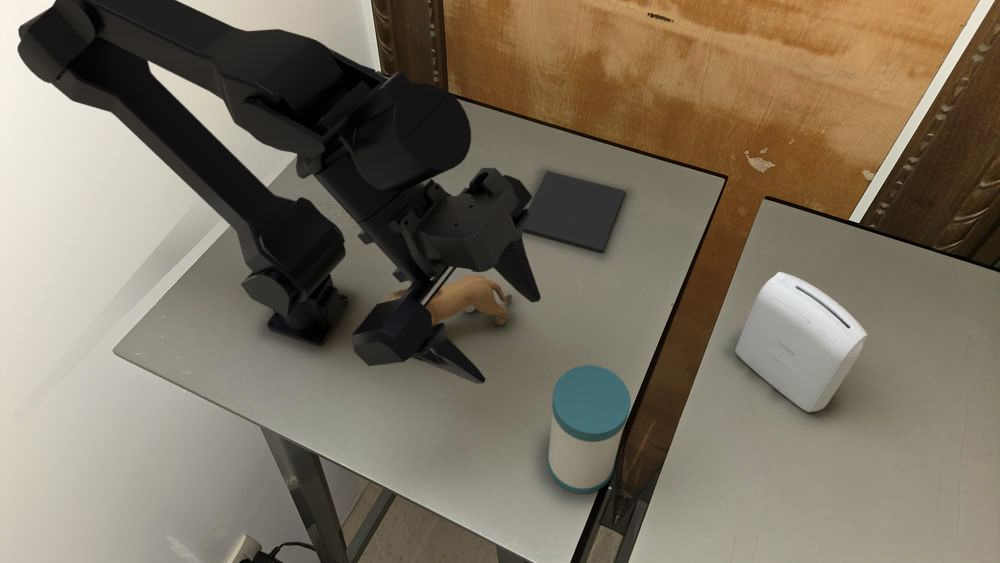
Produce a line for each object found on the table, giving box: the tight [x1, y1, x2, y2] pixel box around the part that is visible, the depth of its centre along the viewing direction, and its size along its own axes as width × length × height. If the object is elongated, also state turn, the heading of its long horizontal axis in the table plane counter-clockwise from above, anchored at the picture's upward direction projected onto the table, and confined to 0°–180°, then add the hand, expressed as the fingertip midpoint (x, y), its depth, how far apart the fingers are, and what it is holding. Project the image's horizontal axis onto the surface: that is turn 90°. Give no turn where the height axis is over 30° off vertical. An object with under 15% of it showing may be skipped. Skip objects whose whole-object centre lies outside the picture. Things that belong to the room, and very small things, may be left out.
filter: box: [546, 364, 631, 495], centre depth 65 cm, size 6×6×12 cm
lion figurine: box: [380, 274, 513, 326], centre depth 76 cm, size 15×5×9 cm, turn 122°
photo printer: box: [734, 271, 868, 413], centre depth 71 cm, size 10×4×12 cm, turn 39°
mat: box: [523, 170, 626, 254], centre depth 89 cm, size 10×10×1 cm
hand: (510, 339), depth 62 cm, fingers open, 9 cm apart
